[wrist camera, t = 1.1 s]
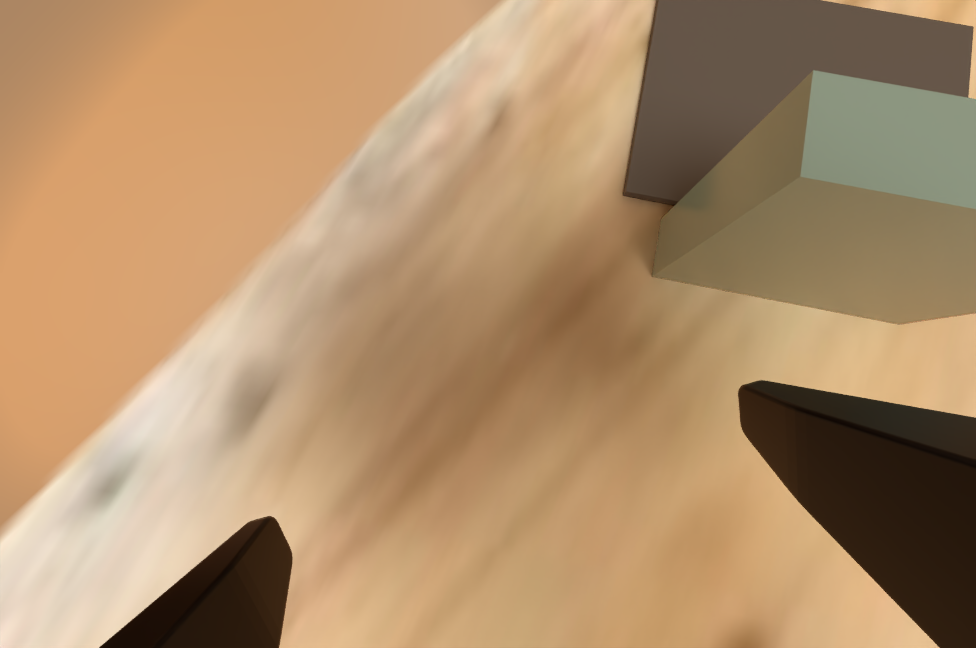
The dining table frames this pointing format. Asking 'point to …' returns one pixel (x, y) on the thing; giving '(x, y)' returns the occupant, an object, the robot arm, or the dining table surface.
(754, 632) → the dining table surface
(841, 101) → the glazed tile block
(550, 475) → the dining table surface
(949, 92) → the mat
